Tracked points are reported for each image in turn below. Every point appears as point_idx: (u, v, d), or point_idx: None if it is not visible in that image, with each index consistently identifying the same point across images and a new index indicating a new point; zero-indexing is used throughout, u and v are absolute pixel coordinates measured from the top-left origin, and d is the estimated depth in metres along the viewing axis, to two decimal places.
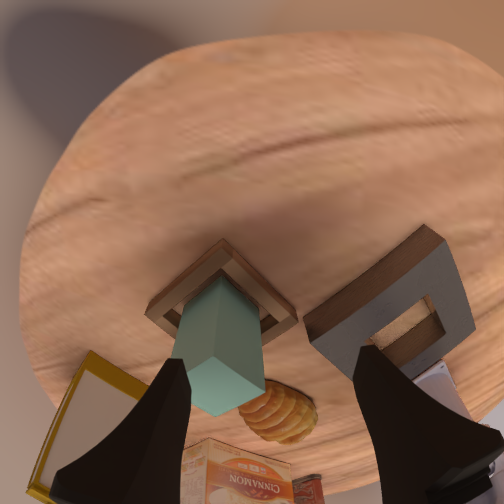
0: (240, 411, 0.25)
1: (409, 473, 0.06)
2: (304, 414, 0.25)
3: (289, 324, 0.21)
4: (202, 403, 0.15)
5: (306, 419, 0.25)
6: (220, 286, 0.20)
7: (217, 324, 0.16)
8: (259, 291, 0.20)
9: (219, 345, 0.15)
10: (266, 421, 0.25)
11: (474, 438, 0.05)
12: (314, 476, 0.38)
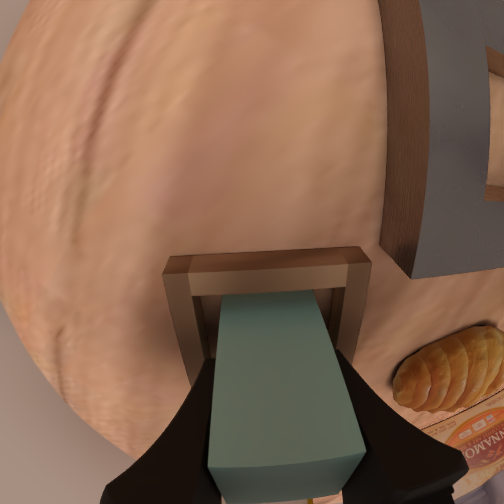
0: (412, 408, 0.15)
1: (363, 487, 0.06)
2: (488, 351, 0.13)
3: (362, 276, 0.11)
4: (297, 497, 0.07)
5: (494, 354, 0.13)
6: (221, 315, 0.12)
7: (215, 393, 0.08)
8: (269, 276, 0.11)
9: (222, 435, 0.07)
10: (448, 398, 0.14)
11: (430, 457, 0.05)
12: None
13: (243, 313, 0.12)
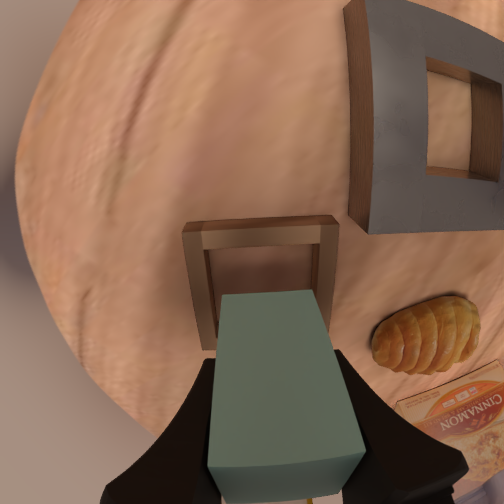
0: (391, 368, 0.19)
1: (363, 487, 0.06)
2: (456, 317, 0.17)
3: (332, 235, 0.15)
4: (297, 497, 0.07)
5: (462, 320, 0.17)
6: (220, 315, 0.12)
7: (214, 393, 0.08)
8: (261, 233, 0.15)
9: (221, 435, 0.07)
10: (421, 358, 0.18)
11: (430, 458, 0.05)
12: None
13: (243, 313, 0.12)
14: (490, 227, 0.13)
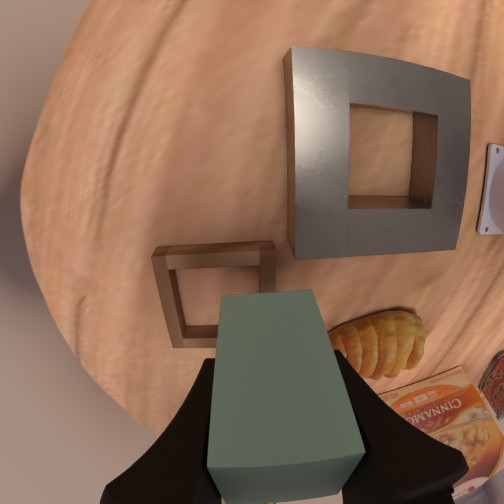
0: None
1: (363, 487, 0.06)
2: (397, 330, 0.21)
3: (270, 259, 0.19)
4: (297, 497, 0.07)
5: (403, 332, 0.21)
6: (220, 315, 0.12)
7: (214, 394, 0.08)
8: (211, 258, 0.19)
9: (221, 435, 0.07)
10: (364, 365, 0.22)
11: (431, 457, 0.05)
12: (497, 356, 0.28)
13: (242, 313, 0.12)
14: (423, 249, 0.17)
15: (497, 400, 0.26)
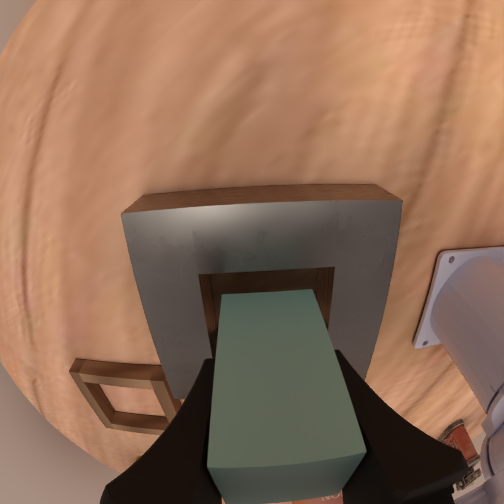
0: None
1: (363, 487, 0.06)
2: None
3: (161, 386, 0.18)
4: (297, 497, 0.07)
5: None
6: (220, 314, 0.12)
7: (214, 393, 0.08)
8: (113, 380, 0.18)
9: (221, 435, 0.07)
10: None
11: (431, 457, 0.05)
12: (452, 426, 0.27)
13: (243, 313, 0.12)
14: None
15: None
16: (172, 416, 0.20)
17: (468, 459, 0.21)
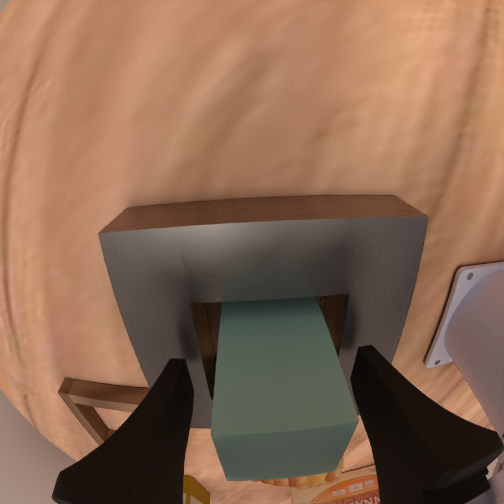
0: None
1: (406, 474, 0.06)
2: None
3: None
4: (295, 473, 0.08)
5: None
6: None
7: (217, 368, 0.09)
8: (104, 403, 0.16)
9: (224, 405, 0.08)
10: (277, 482, 0.19)
11: (472, 439, 0.05)
12: None
13: None
14: None
15: None
16: None
17: None
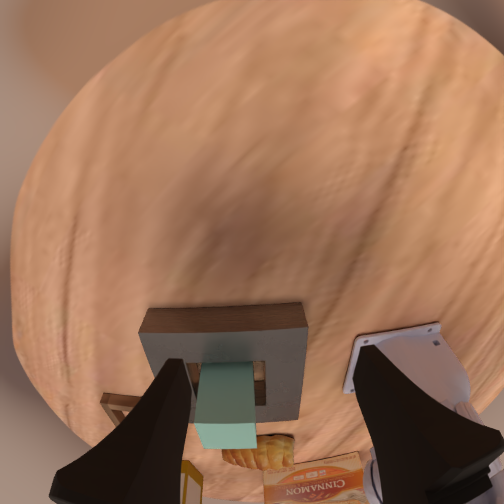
0: None
1: (409, 473, 0.06)
2: (267, 451, 0.29)
3: None
4: (236, 446, 0.18)
5: (272, 453, 0.29)
6: None
7: (198, 395, 0.19)
8: (132, 408, 0.26)
9: (200, 411, 0.18)
10: (249, 465, 0.30)
11: (474, 437, 0.05)
12: None
13: None
14: (266, 420, 0.25)
15: None
16: None
17: None
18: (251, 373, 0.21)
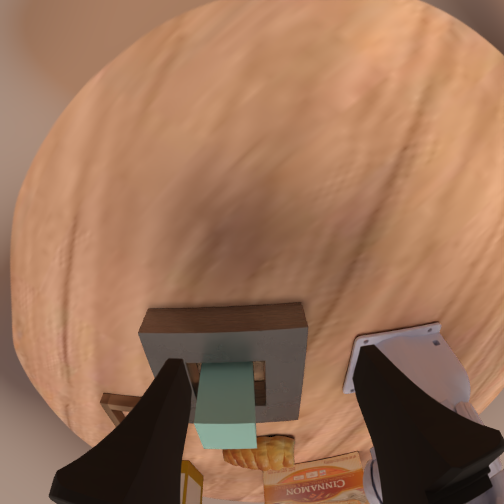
0: (238, 464, 0.32)
1: (409, 473, 0.06)
2: (267, 452, 0.29)
3: None
4: (236, 446, 0.18)
5: (272, 453, 0.29)
6: None
7: (198, 395, 0.19)
8: (132, 408, 0.26)
9: (200, 411, 0.18)
10: (249, 466, 0.30)
11: (474, 438, 0.05)
12: None
13: None
14: (266, 420, 0.25)
15: None
16: None
17: None
18: (251, 373, 0.21)
